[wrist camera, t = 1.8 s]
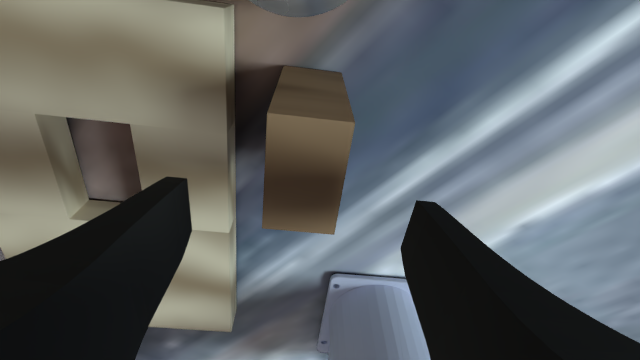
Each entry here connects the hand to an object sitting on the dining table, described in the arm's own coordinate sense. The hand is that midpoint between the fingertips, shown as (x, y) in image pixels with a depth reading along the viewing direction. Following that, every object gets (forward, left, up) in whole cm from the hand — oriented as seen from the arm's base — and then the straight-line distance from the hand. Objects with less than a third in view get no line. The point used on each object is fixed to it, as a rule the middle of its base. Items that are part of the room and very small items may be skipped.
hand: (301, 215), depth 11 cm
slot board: (-6, +11, -9) cm, 16 cm away
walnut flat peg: (0, 0, -9) cm, 9 cm away
